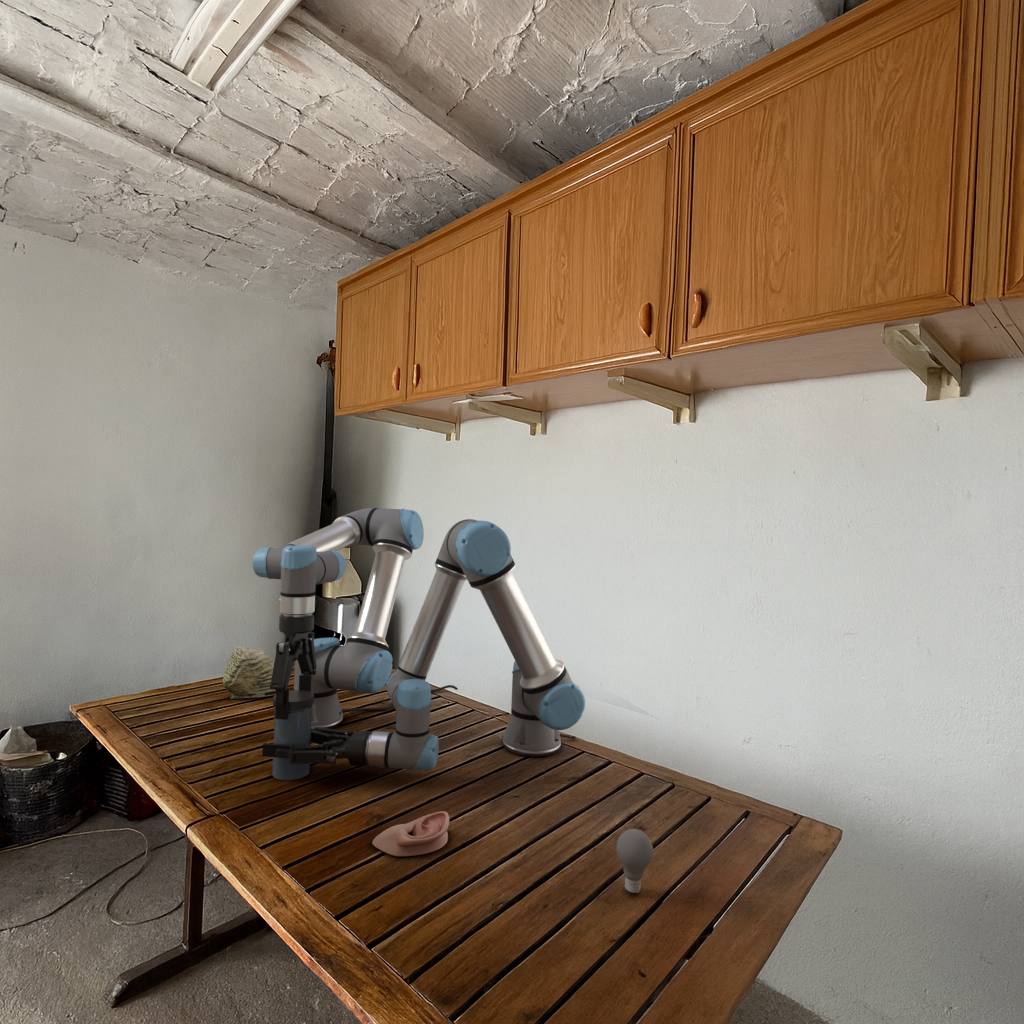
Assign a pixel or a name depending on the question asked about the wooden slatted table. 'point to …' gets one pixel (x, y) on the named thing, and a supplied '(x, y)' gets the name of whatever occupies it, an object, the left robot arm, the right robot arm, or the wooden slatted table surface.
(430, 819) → the anatomical model
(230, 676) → the fossil
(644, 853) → the light bulb
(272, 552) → the left robot arm
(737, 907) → the wooden slatted table surface
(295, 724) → the jar
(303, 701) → the lid
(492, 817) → the wooden slatted table surface
